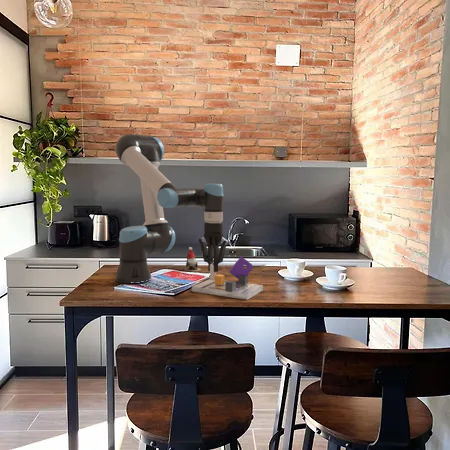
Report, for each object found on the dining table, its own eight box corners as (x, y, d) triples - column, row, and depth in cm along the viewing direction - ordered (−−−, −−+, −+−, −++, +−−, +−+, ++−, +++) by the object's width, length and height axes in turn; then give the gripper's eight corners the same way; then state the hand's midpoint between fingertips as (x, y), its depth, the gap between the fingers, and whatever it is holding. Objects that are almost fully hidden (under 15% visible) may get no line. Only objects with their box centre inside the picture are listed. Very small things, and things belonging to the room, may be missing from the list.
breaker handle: (214, 284, 173) (214, 275, 172) (218, 282, 175) (218, 274, 175) (221, 285, 171) (221, 276, 171) (224, 283, 174) (224, 275, 174)
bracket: (244, 279, 177) (254, 266, 178) (231, 269, 177) (241, 256, 179) (240, 281, 189) (249, 268, 190) (228, 271, 189) (237, 259, 190)
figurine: (198, 265, 203) (183, 247, 208) (188, 279, 207) (173, 261, 212) (209, 262, 210) (194, 245, 214) (198, 276, 214) (184, 259, 219)
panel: (192, 291, 170) (192, 277, 170) (211, 283, 184) (211, 270, 184) (247, 299, 160) (247, 285, 159) (263, 290, 174) (263, 276, 173)
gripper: (194, 222, 172) (194, 279, 174) (223, 223, 166) (223, 283, 168) (204, 220, 178) (203, 276, 181) (232, 222, 173) (231, 279, 175)
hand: (213, 279), depth 175 cm, fingers closed
